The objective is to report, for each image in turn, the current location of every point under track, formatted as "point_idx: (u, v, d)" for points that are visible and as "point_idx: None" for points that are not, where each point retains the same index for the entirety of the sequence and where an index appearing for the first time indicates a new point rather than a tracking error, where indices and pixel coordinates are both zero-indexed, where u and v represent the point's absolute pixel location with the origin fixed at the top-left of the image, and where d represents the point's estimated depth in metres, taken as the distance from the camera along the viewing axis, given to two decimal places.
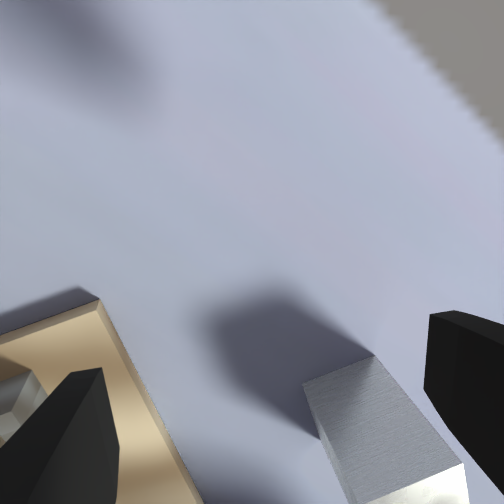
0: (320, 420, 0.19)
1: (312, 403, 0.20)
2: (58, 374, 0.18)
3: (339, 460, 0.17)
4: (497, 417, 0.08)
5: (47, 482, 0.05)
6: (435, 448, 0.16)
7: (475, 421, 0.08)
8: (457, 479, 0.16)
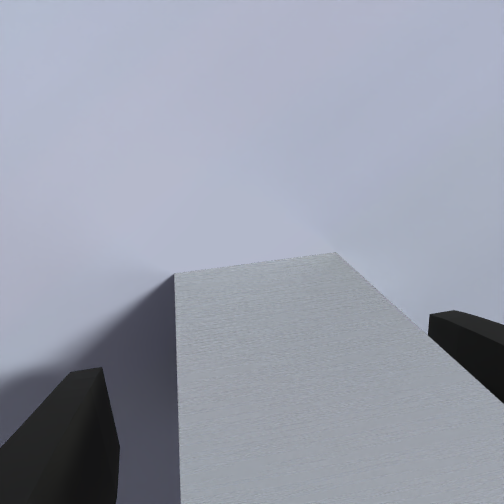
0: None
1: None
2: None
3: None
4: None
5: (47, 482, 0.05)
6: None
7: None
8: None
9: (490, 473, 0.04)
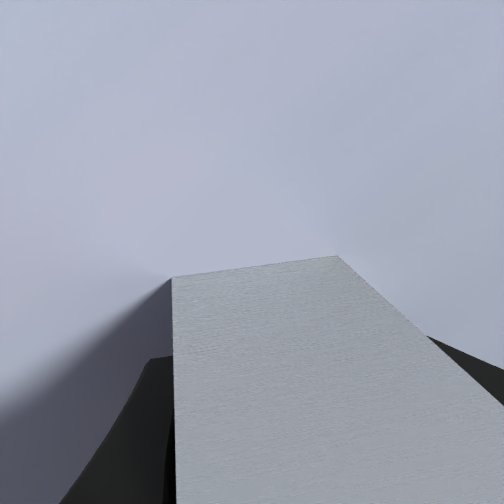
0: None
1: None
2: None
3: None
4: None
5: (168, 458, 0.06)
6: None
7: None
8: None
9: None
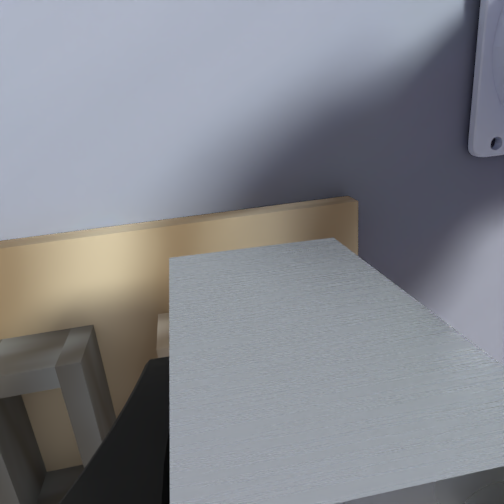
0: None
1: None
2: None
3: None
4: None
5: (168, 458, 0.06)
6: None
7: None
8: None
9: (494, 432, 0.04)
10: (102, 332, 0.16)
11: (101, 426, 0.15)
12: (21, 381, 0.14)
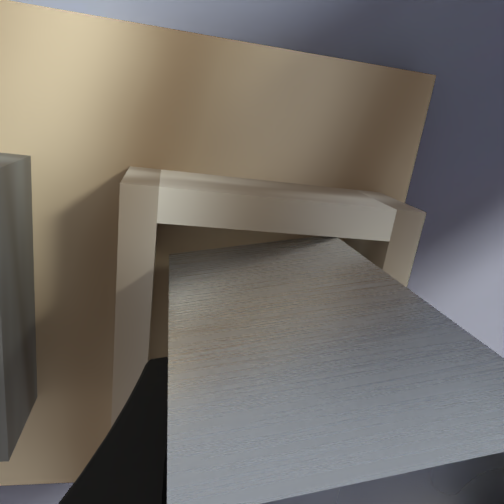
0: None
1: None
2: None
3: None
4: None
5: None
6: None
7: None
8: None
9: (492, 420, 0.04)
10: (41, 172, 0.11)
11: (6, 298, 0.10)
12: None
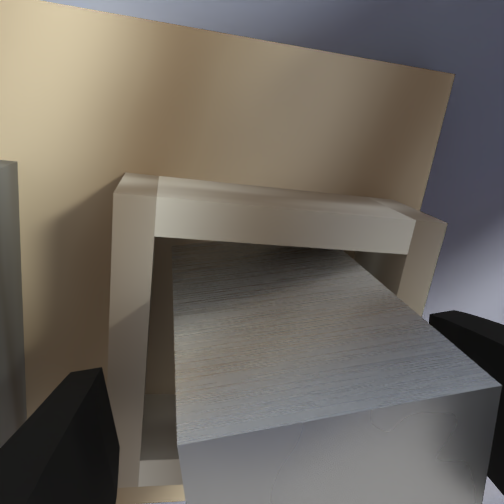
0: None
1: None
2: None
3: None
4: (497, 417, 0.08)
5: (47, 482, 0.05)
6: None
7: None
8: (240, 455, 0.05)
9: (422, 378, 0.06)
10: (30, 180, 0.10)
11: None
12: None
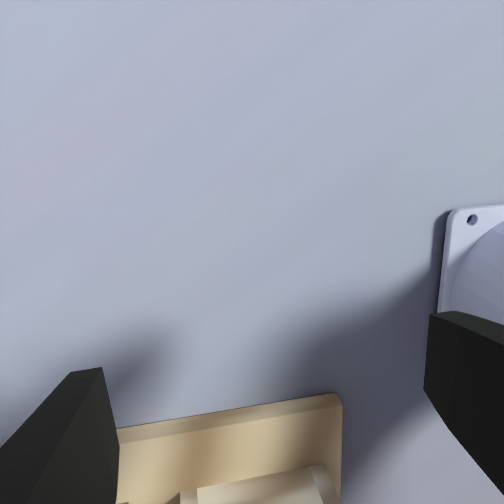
0: None
1: None
2: None
3: None
4: (497, 417, 0.08)
5: (47, 482, 0.05)
6: None
7: (475, 421, 0.08)
8: None
9: None
10: None
11: None
12: None
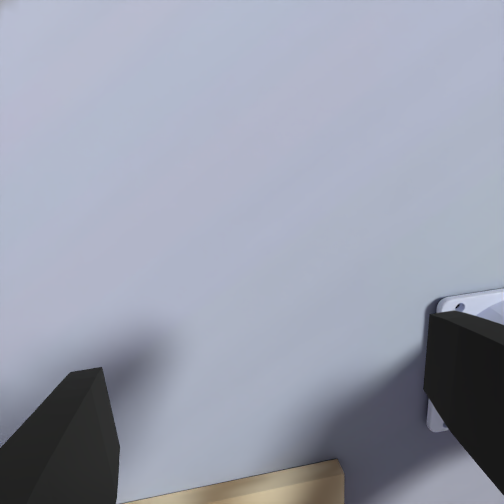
0: None
1: None
2: None
3: None
4: (497, 417, 0.08)
5: (47, 482, 0.05)
6: None
7: (475, 421, 0.08)
8: None
9: None
10: None
11: None
12: None
